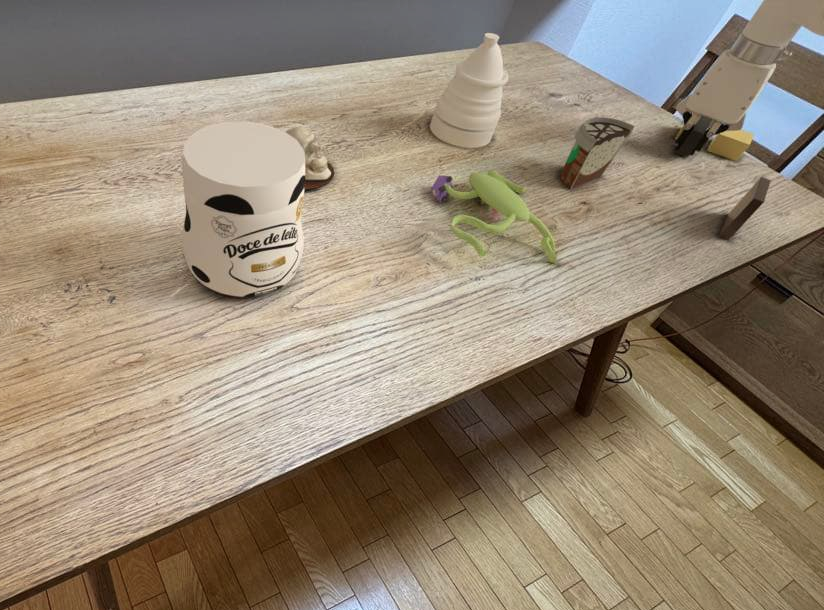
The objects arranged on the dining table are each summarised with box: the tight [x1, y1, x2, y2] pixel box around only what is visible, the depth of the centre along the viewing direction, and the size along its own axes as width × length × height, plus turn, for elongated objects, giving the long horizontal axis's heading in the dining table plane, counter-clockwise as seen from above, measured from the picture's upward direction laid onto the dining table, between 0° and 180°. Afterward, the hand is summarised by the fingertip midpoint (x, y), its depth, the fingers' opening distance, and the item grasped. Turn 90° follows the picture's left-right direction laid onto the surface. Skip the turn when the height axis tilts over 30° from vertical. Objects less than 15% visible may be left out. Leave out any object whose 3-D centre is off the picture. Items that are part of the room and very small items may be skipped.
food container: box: [559, 116, 636, 190], centre depth 96 cm, size 12×6×10 cm, turn 123°
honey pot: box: [429, 32, 510, 149], centre depth 100 cm, size 13×13×18 cm
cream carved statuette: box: [285, 126, 335, 190], centre depth 92 cm, size 12×10×10 cm
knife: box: [677, 115, 713, 157], centre depth 108 cm, size 17×2×4 cm, turn 143°
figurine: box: [431, 169, 558, 265], centre depth 87 cm, size 18×27×6 cm
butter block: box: [706, 129, 755, 162], centre depth 110 cm, size 6×6×4 cm
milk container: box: [181, 121, 305, 299], centre depth 70 cm, size 17×17×18 cm
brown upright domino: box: [718, 176, 772, 241], centre depth 91 cm, size 2×9×8 cm, turn 143°
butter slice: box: [674, 112, 702, 140], centre depth 112 cm, size 2×6×4 cm, turn 143°
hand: (685, 149), depth 108 cm, fingers closed on knife, 2 cm apart
